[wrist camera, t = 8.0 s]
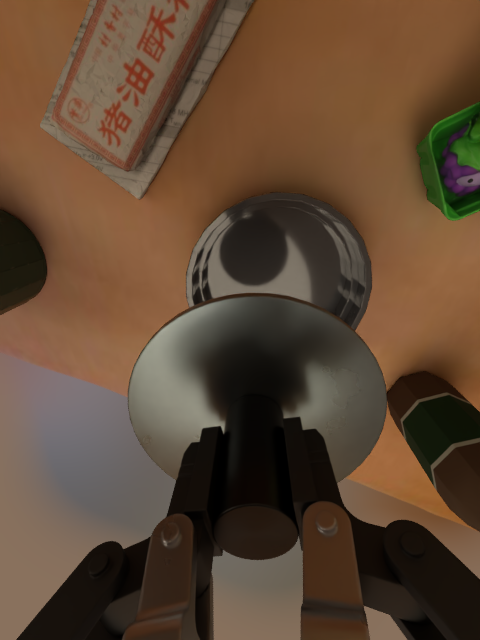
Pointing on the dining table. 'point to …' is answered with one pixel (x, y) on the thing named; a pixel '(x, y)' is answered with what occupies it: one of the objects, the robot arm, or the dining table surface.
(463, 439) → the beer bottle
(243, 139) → the dining table surface
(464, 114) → the fruit basket
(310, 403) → the lid
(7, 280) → the pot
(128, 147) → the packaged product
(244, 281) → the pan
